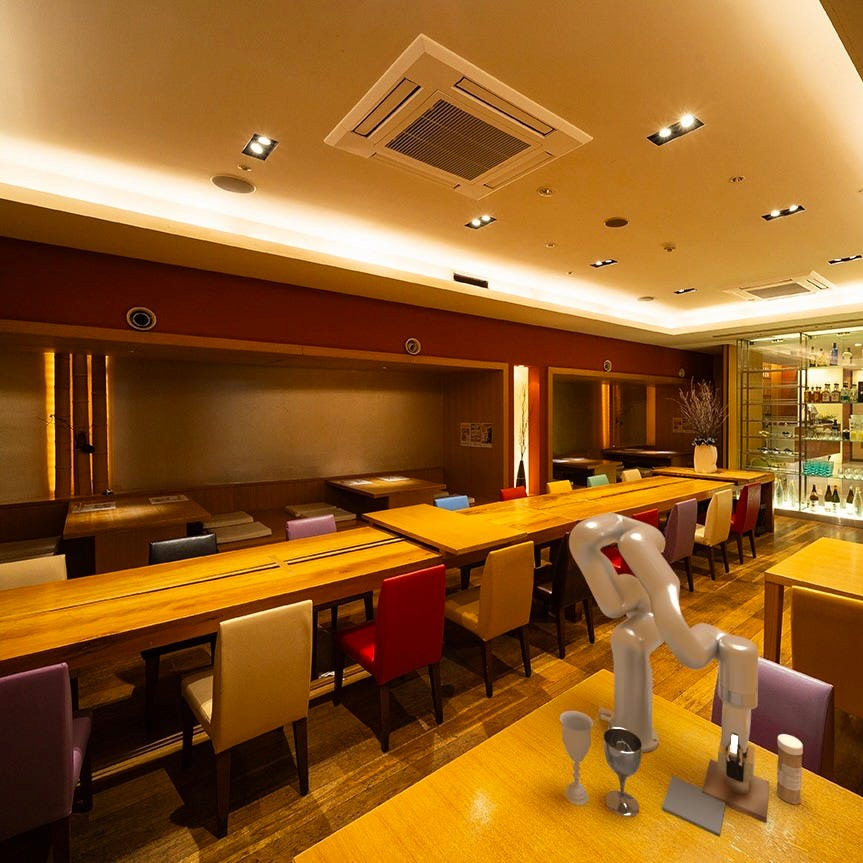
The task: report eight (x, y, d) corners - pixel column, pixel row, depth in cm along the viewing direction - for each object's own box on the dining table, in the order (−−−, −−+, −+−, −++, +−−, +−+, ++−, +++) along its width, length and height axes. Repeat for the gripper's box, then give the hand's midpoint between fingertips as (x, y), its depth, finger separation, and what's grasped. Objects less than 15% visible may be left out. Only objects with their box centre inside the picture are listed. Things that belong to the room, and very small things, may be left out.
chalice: (558, 803, 107) (558, 726, 106) (561, 780, 113) (561, 708, 112) (593, 812, 104) (592, 733, 103) (593, 788, 111) (593, 714, 110)
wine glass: (595, 796, 109) (595, 733, 108) (622, 784, 112) (622, 723, 111) (622, 824, 101) (622, 757, 101) (649, 811, 105) (650, 745, 104)
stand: (702, 795, 108) (702, 757, 108) (709, 763, 118) (710, 728, 117) (766, 822, 101) (767, 782, 100) (769, 786, 110) (769, 749, 110)
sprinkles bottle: (777, 785, 111) (779, 730, 110) (802, 796, 108) (803, 739, 107) (774, 797, 107) (776, 740, 107) (800, 809, 104) (801, 750, 103)
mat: (662, 809, 105) (662, 807, 105) (672, 778, 113) (672, 775, 113) (719, 836, 98) (719, 833, 98) (726, 800, 107) (726, 798, 107)
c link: (717, 768, 108) (718, 751, 108) (721, 751, 114) (721, 735, 113) (752, 781, 104) (752, 764, 104) (754, 763, 110) (755, 747, 109)
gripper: (723, 670, 117) (722, 738, 118) (713, 706, 103) (712, 783, 104) (760, 680, 113) (758, 751, 114) (754, 719, 99) (753, 800, 100)
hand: (736, 766), depth 109 cm, fingers open, 8 cm apart
